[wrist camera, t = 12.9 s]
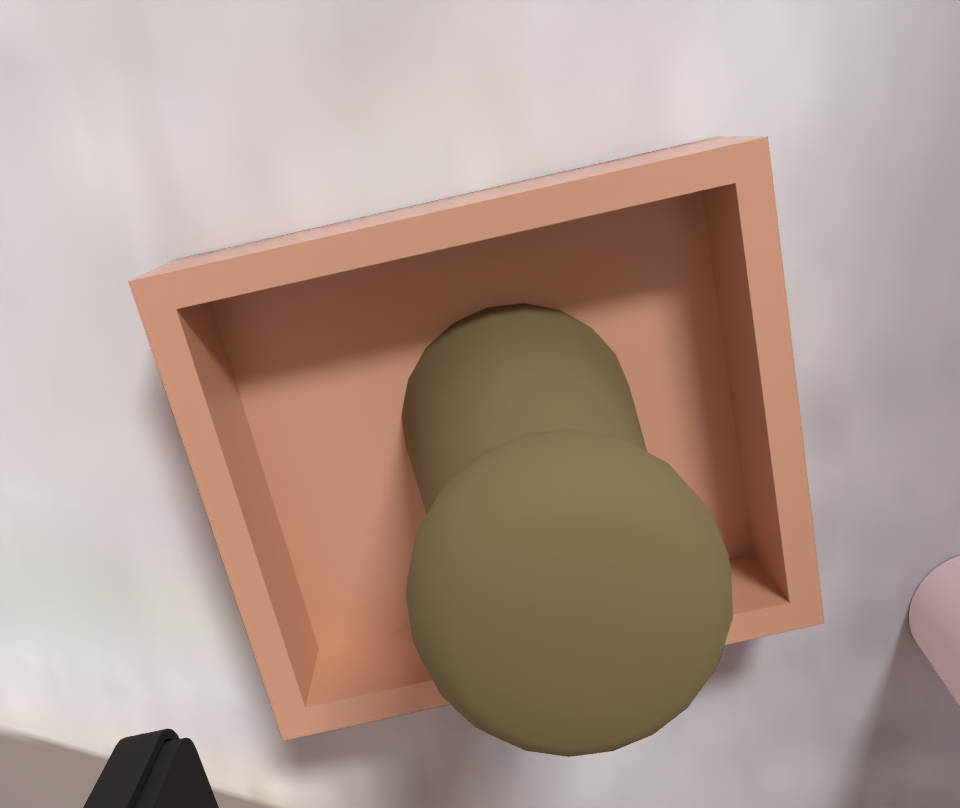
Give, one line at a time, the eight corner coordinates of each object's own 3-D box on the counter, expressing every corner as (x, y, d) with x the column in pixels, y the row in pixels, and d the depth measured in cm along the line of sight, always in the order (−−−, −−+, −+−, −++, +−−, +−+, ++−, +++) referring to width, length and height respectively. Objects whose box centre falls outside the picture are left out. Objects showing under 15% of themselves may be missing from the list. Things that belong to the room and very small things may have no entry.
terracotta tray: (717, 136, 22) (767, 136, 19) (773, 559, 26) (824, 623, 22) (174, 259, 22) (128, 281, 19) (302, 663, 26) (282, 741, 23)
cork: (580, 551, 24) (688, 865, 14) (370, 483, 24) (317, 762, 13) (668, 349, 23) (865, 530, 12) (448, 268, 22) (459, 389, 12)
